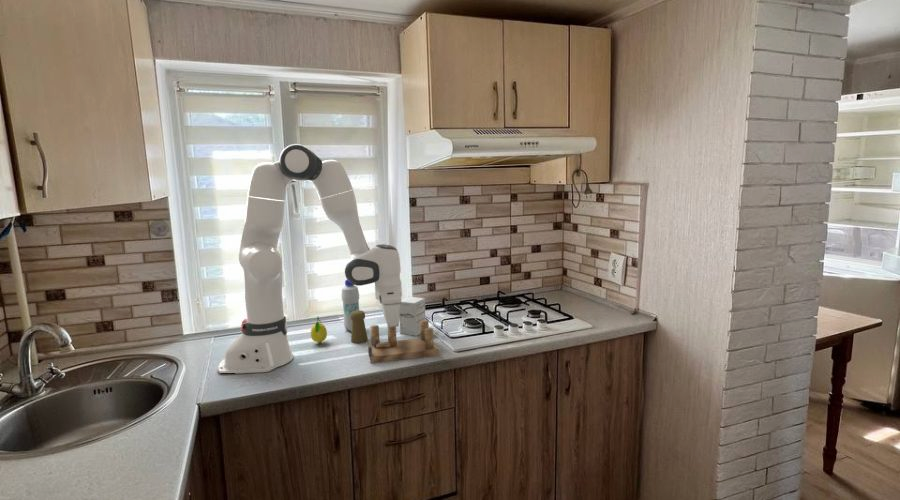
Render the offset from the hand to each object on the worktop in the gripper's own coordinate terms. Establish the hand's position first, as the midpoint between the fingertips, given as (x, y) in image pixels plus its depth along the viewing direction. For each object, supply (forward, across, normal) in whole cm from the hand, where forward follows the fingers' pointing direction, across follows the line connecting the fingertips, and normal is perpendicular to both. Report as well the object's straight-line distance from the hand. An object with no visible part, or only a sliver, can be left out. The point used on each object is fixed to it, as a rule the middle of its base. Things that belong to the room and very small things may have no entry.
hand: (390, 331), depth 161 cm
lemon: (+6, -13, -24) cm, 28 cm away
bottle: (+6, -24, -12) cm, 27 cm away
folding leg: (+3, +4, -2) cm, 6 cm away
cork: (+6, -11, -10) cm, 16 cm away
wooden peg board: (+6, +6, +3) cm, 8 cm away
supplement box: (+6, -13, +10) cm, 17 cm away
